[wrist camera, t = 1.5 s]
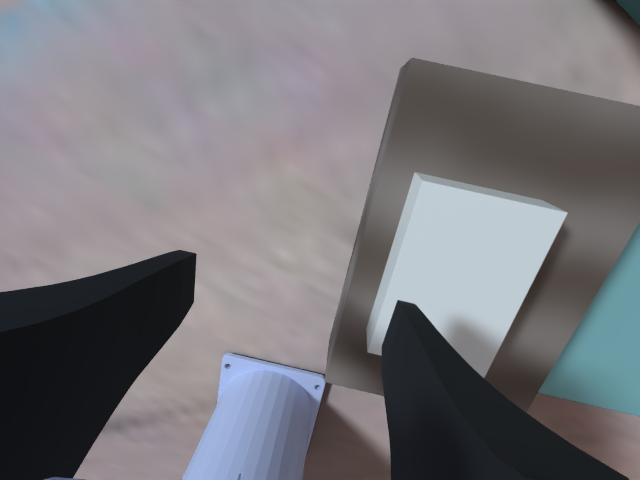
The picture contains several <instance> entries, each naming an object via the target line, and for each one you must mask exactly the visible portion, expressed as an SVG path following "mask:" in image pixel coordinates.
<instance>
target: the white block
mask: <svg viewBox="0 0 640 480" xmlns="http://www.w3.org/2000/svg"><path fill="white" fill-rule="evenodd" d="M566 215H567V212H565V211H563V210H561V209H559V208H557V207H555V206H553V205H551V204H549V203H547V202H545V201H543V200H539V199H534V198H530V197H525V196H521V195H516V194H512V193H507V192H503V191H498V190H493V189H489V188H484V187H480V186H475V185H471V184H466V183H462V182H457V181H453V180H448V179H444V178H439V177H435V176H430V175H425V174H421V173H416V172H415V173H414V176H413V179H412V182H411V186H410V189H409V192H408V195H407V199H406V202H405V205H404V208H403V212H402V215H401V218H400V221H399V224H398V228H397V231H396V234H395V237H394V241H393V244H392V247H391V250H390V254H389V257H388V260H387V263H386V267H385V270H384V273H383V276H382V280H381V283H380V286H379V289H378V293H377V296H376V299H375V302H374V306H373V309H372V312H371V315H370V319H369V322H368V325H367V328H366V331H367V352H368V353H372V354H376V355H381V356H382V344H383V341H384V338H385V335H386V332H387V329H388V326H389V323H390V320H391V317H392V315H393V312H394V309H395V306H396V303H397V300H400V301H405V302H409V303H413V304H416V305H417V306H418V308H419V309H420V310H421V311H422V312H423V313H424V314H425V316H426V317H427V318H428V319H429V320H430V322H431V323H432V324H433V325H434V326H435V328H436V329H437V330H438V331H439V332H440V334H441V335H442V336H443V337H444V338H445V339H446V340H447V341H448V343H449V344H450V345H451V346H452V347H453V348H454V349H455V350H456V351H457V352H458V353H459V354H460V356H461V357H462V358H463V359H464V360H465V361H466V362H467V363H468V364H469V365H470V366H471V367H472V368H473V369H474V370H475V371H477V372H478V373H479V374H480V375H481V376H482V377H483V378H484V377H485V376H486V374H487V372H488V370H489V368H490V366H491V364H492V362H493V360H494V358H495V356H496V354H497V352H498V350H499V348H500V346H501V344H502V342H503V340H504V338H505V336H506V334H507V332H508V330H509V328H510V326H511V324H512V322H513V320H514V318H515V316H516V314H517V312H518V310H519V308H520V306H521V304H522V302H523V300H524V298H525V296H526V294H527V293H528V291H529V289H530V287H531V285H532V283H533V281H534V279H535V277H536V275H537V273H538V271H539V269H540V267H541V265H542V263H543V261H544V259H545V257H546V255H547V253H548V251H549V249H550V247H551V245H552V243H553V241H554V239H555V237H556V235H557V233H558V231H559V229H560V227H561V225H562V223H563V221H564V219H565V217H566Z"/></svg>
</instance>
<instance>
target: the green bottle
mask: <svg viewBox="0 0 640 480" xmlns="http://www.w3.org/2000/svg"><path fill="white" fill-rule="evenodd" d="M615 1H616V2H617V3H618V4H619V5H620V6H621V7H622V8H623V9H624V10H625V11H626V12H627V13H628V14H629V15H630V16H631V18H632V19H633V20H634V21H635V22H636V23H637V24H638V25H640V0H615Z"/></svg>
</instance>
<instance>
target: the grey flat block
mask: <svg viewBox="0 0 640 480" xmlns="http://www.w3.org/2000/svg"><path fill="white" fill-rule="evenodd" d="M415 172H416V173H421V174H425V175H430V176H435V177H439V178H444V179H448V180H453V181H457V182H462V183H466V184H471V185H475V186H480V187H484V188H489V189H493V190H498V191H503V192H507V193H512V194H516V195H521V196H525V197H530V198H534V199H539V200H543V201H545V202H547V203H549V204H551V205H553V206H555V207H557V208H559V209H561V210H563V211H565V212H567V215H566V217H565V219H564V221H563V223H562V225H561V227H560V229H559V231H558V233H557V235H556V237H555V239H554V241H553V243H552V245H551V247H550V249H549V251H548V253H547V255H546V257H545V259H544V261H543V263H542V265H541V267H540V269H539V271H538V273H537V275H536V277H535V279H534V281H533V283H532V285H531V287H530V289H529V291H528V293H527V294H526V296H525V298H524V300H523V302H522V304H521V306H520V308H519V310H518V312H517V314H516V316H515V318H514V320H513V322H512V324H511V326H510V328H509V330H508V332H507V334H506V336H505V338H504V340H503V342H502V344H501V346H500V348H499V350H498V352H497V354H496V356H495V358H494V360H493V362H492V364H491V366H490V368H489V370H488V372H487V374H486V376H485V377H484V379H485V380H486V381H488V382H489V383H490V384H491V385H492V386H493V387H494V388H495V389H497V390H498V391H499V392H500V393H501V394H503V395H504V396H505V397H506V398H508V399H509V400H510V401H511V402H513V403H514V404H515V405H517V406H518V407H519V408H521V409H522V410H523V411H524V412H526V411H527V409H528V408H529V406H530V404H531V403H532V401H533V399H534V398H535V396H536V394H537V393H538V391H539V389H540V388H541V386H542V384H543V383H544V381H545V379H546V378H547V376H548V374H549V373H550V371H551V369H552V368H553V366H554V364H555V363H556V361H557V359H558V358H559V356H560V354H561V353H562V351H563V349H564V348H565V346H566V344H567V343H568V341H569V339H570V338H571V336H572V334H573V333H574V331H575V329H576V328H577V326H578V324H579V323H580V321H581V319H582V318H583V316H584V314H585V312H586V311H587V309H588V307H589V306H590V304H591V302H592V301H593V299H594V297H595V296H596V294H597V292H598V291H599V289H600V287H601V286H602V284H603V282H604V281H605V279H606V277H607V276H608V274H609V272H610V271H611V269H612V267H613V266H614V264H615V262H616V261H617V259H618V257H619V256H620V254H621V252H622V251H623V249H624V247H625V246H626V244H627V242H628V241H629V239H630V237H631V236H632V234H633V232H634V231H635V229H636V227H637V226H638V224H639V222H640V106H636V105H631V104H627V103H622V102H617V101H612V100H608V99H603V98H598V97H594V96H589V95H584V94H580V93H575V92H570V91H566V90H561V89H556V88H551V87H547V86H542V85H537V84H533V83H528V82H523V81H519V80H514V79H509V78H505V77H500V76H495V75H491V74H486V73H481V72H476V71H472V70H467V69H462V68H458V67H453V66H448V65H444V64H439V63H434V62H430V61H425V60H420V59H415V58H411V59H410V60H409V61H408V62H407V63H406V64H405V65H404V66H403V67H402V68H401V69H400V72H399V76H398V80H397V83H396V87H395V91H394V95H393V99H392V103H391V106H390V110H389V114H388V118H387V122H386V126H385V129H384V133H383V137H382V141H381V145H380V149H379V152H378V156H377V160H376V164H375V168H374V171H373V175H372V179H371V183H370V187H369V191H368V194H367V198H366V202H365V206H364V210H363V214H362V217H361V221H360V225H359V229H358V233H357V237H356V240H355V244H354V248H353V252H352V256H351V260H350V263H349V267H348V271H347V275H346V279H345V282H344V286H343V290H342V294H341V298H340V302H339V305H338V309H337V313H336V317H335V321H334V325H333V328H332V332H331V336H330V340H329V348H328V356H327V364H326V373H325V381H324V382H326V383H331V384H335V385H339V386H343V387H348V388H352V389H356V390H360V391H365V392H369V393H373V394H377V395H382V396H384V390H383V382H382V373H381V355H376V354H372V353H368V352H367V331H366V328H367V325H368V322H369V319H370V315H371V312H372V309H373V306H374V302H375V299H376V296H377V293H378V289H379V286H380V283H381V280H382V276H383V273H384V270H385V267H386V263H387V260H388V257H389V254H390V250H391V247H392V244H393V241H394V237H395V234H396V231H397V228H398V224H399V221H400V218H401V215H402V212H403V208H404V205H405V202H406V199H407V195H408V192H409V189H410V186H411V182H412V179H413V176H414V173H415Z"/></svg>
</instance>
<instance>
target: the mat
mask: <svg viewBox="0 0 640 480" xmlns="http://www.w3.org/2000/svg"><path fill="white" fill-rule="evenodd" d="M538 393H541V394H545V395H550V396H554V397H558V398H563V399H567V400H571V401H575V402H580V403H584V404H588V405H593V406H597V407H601V408H605V409H610V410H614V411H618V412H623V413H627V414H631V415H636V416H640V222H639V224H638V226H637V227H636V229H635V231H634V232H633V234H632V236H631V237H630V239H629V241H628V242H627V244H626V246H625V247H624V249H623V251H622V252H621V254H620V256H619V257H618V259H617V261H616V262H615V264H614V266H613V267H612V269H611V271H610V272H609V274H608V276H607V277H606V279H605V281H604V282H603V284H602V286H601V287H600V289H599V291H598V292H597V294H596V296H595V297H594V299H593V301H592V302H591V304H590V306H589V307H588V309H587V311H586V312H585V314H584V316H583V318H582V319H581V321H580V323H579V324H578V326H577V328H576V329H575V331H574V333H573V334H572V336H571V338H570V339H569V341H568V343H567V344H566V346H565V348H564V349H563V351H562V353H561V354H560V356H559V358H558V359H557V361H556V363H555V364H554V366H553V368H552V369H551V371H550V373H549V374H548V376H547V378H546V379H545V381H544V383H543V384H542V386H541V388H540V389H539V391H538Z"/></svg>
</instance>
